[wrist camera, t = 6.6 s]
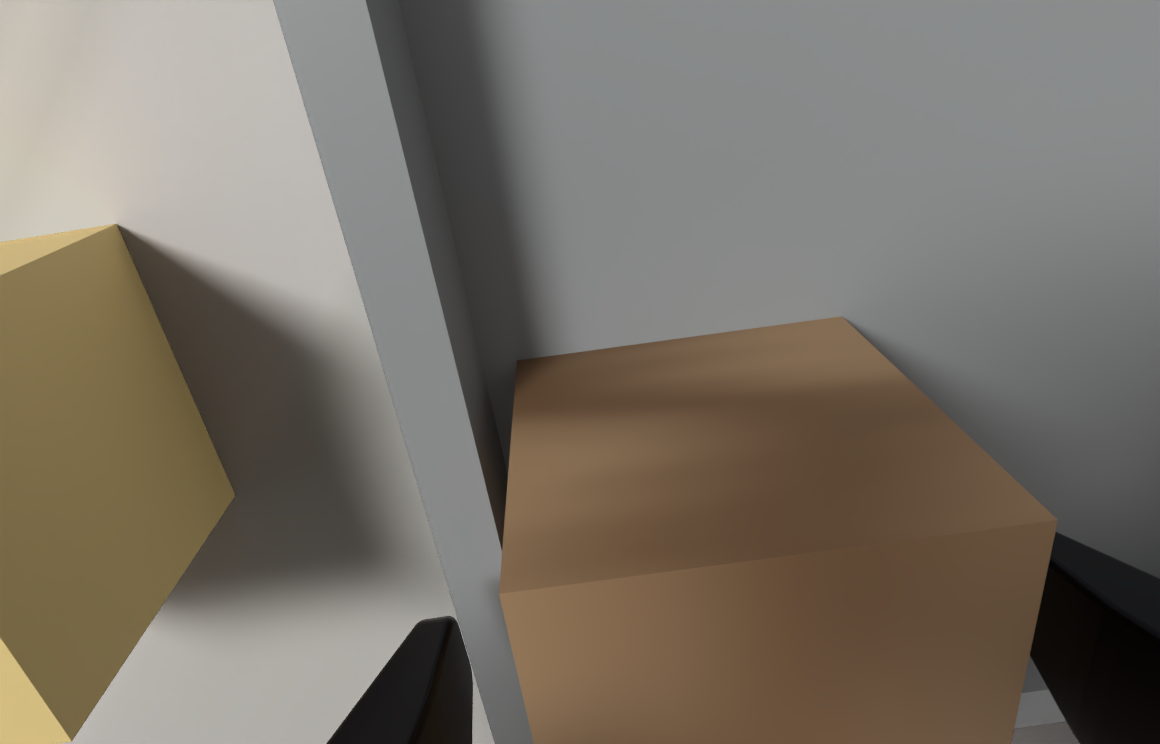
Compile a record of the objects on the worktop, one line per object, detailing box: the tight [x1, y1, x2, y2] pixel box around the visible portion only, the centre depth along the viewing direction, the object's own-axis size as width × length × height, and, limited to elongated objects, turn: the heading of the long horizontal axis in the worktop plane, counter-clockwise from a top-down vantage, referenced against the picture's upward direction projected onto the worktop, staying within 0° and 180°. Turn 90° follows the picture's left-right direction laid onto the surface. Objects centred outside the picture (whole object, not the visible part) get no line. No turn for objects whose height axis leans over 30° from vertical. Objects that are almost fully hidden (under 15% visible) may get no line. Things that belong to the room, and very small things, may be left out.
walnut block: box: [499, 316, 1058, 744], centre depth 9 cm, size 4×4×4 cm
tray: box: [273, 0, 1160, 744], centre depth 9 cm, size 14×16×2 cm
